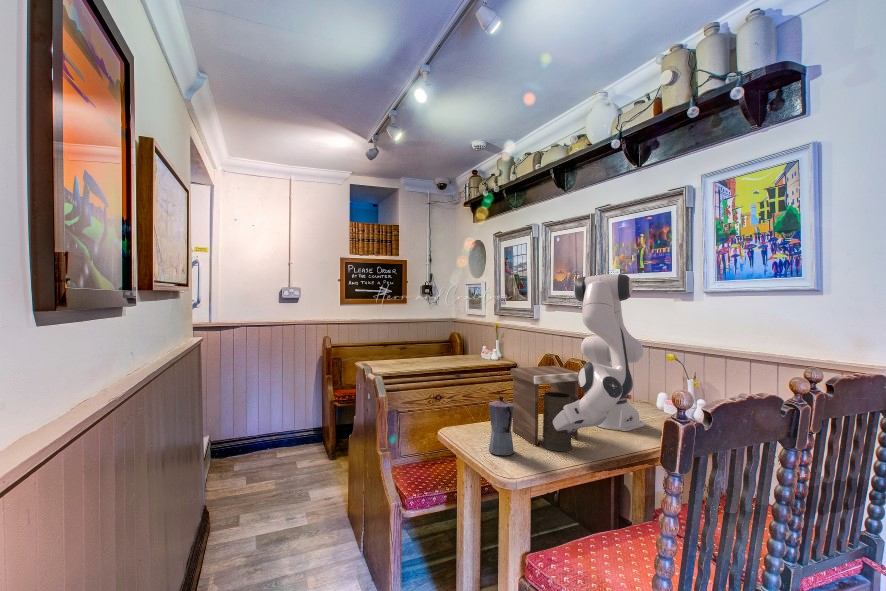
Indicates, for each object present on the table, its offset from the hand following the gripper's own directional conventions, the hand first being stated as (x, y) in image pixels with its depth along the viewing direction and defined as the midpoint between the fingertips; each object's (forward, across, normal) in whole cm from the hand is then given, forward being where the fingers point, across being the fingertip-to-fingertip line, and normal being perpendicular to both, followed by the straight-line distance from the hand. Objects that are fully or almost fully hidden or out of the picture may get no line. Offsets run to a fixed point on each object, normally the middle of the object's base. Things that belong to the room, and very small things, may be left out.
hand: (570, 430), depth 154 cm
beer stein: (+8, 0, +2) cm, 9 cm away
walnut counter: (+16, 0, -6) cm, 17 cm away
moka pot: (+10, +25, +1) cm, 27 cm away
